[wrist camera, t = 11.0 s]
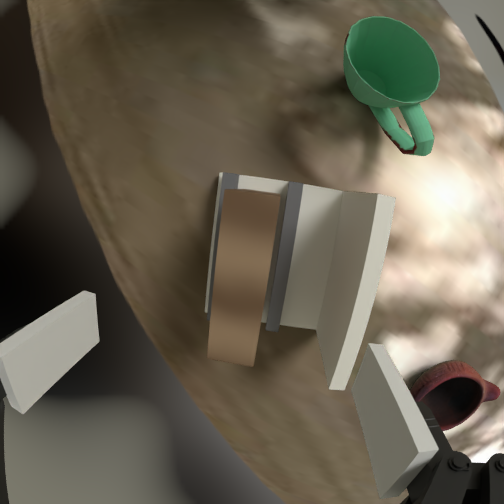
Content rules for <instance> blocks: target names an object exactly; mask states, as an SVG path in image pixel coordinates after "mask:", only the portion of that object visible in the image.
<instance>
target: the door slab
mask: <svg viewBox="0 0 504 504" xmlns="http://www.w3.org/2000/svg"><path fill="white" fill-rule="evenodd" d="M280 198H281V196H280V194H278V193H271V192H264V191H257V190H250V189H225V190H224V197H223V205H222V213H221V222H220V230H219V239H218V247H217V257H216V266H215V275H214V285H213V295H212V306H211V317H210V328H209V339H208V352H207V359H212V360H217V361H223V362H228V363H233V364H239V365H245V366H251V367H253V366H254V360H255V355H256V349H257V343H258V337H259V331H260V325H261V319H262V313H263V307H264V301H265V295H266V289H267V283H268V276H269V270H270V264H271V257H272V251H273V244H274V238H275V231H276V225H277V218H278V211H279V204H280Z"/></svg>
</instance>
